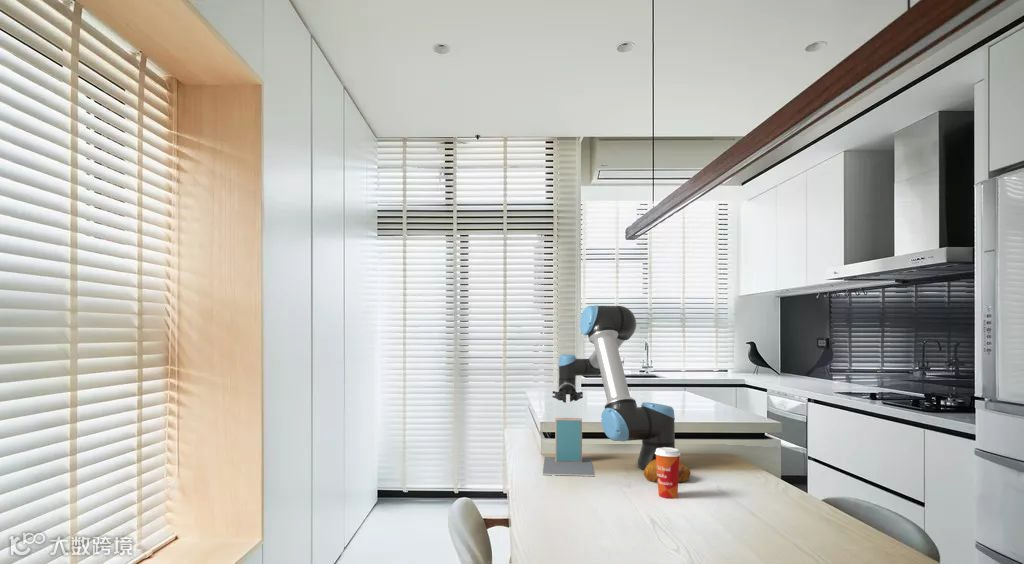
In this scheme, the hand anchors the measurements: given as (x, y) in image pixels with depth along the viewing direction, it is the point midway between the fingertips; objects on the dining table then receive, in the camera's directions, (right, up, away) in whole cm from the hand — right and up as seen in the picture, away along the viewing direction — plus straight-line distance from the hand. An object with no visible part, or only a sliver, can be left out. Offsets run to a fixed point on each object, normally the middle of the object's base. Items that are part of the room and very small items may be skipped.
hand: (568, 399), depth 231 cm
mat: (-1, -22, -14) cm, 26 cm away
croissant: (+31, -21, -29) cm, 47 cm away
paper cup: (+26, -20, -50) cm, 60 cm away
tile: (-1, -22, -8) cm, 23 cm away
